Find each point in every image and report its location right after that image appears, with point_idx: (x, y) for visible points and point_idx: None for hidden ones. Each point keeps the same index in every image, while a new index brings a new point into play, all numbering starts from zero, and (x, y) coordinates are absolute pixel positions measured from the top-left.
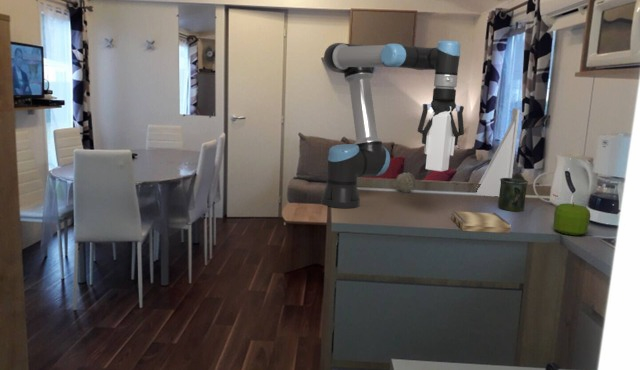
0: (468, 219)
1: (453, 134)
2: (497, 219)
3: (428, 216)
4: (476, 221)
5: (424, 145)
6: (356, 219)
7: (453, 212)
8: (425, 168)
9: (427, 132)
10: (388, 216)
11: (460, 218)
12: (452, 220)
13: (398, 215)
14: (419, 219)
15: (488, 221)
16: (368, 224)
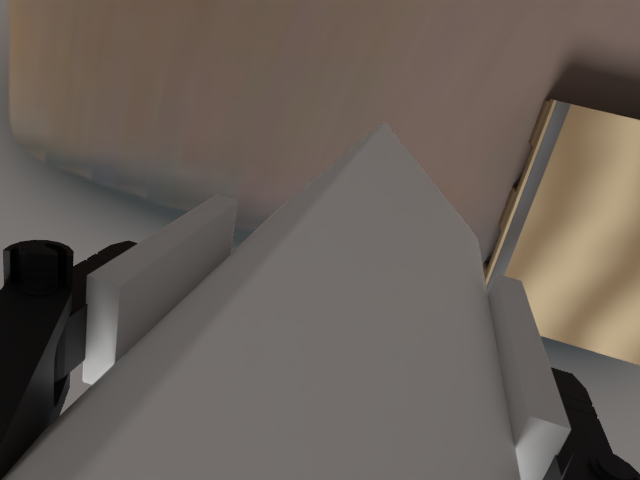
0: (533, 275)
1: (563, 470)
2: None
3: (446, 29)
4: (550, 312)
5: (175, 223)
6: (84, 86)
7: (544, 130)
8: (276, 210)
9: (58, 405)
10: (232, 30)
11: (496, 262)
12: (534, 127)
13: (289, 7)
14: (366, 94)
15: (618, 320)
16: (120, 169)
